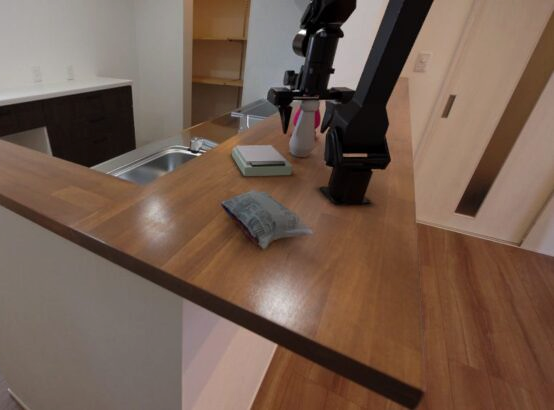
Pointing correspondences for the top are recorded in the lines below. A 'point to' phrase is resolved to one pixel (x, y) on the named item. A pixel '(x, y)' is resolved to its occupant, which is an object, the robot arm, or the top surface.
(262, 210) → the packaged food
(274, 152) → the scale
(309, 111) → the salt shaker
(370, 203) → the robot arm
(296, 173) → the top surface
